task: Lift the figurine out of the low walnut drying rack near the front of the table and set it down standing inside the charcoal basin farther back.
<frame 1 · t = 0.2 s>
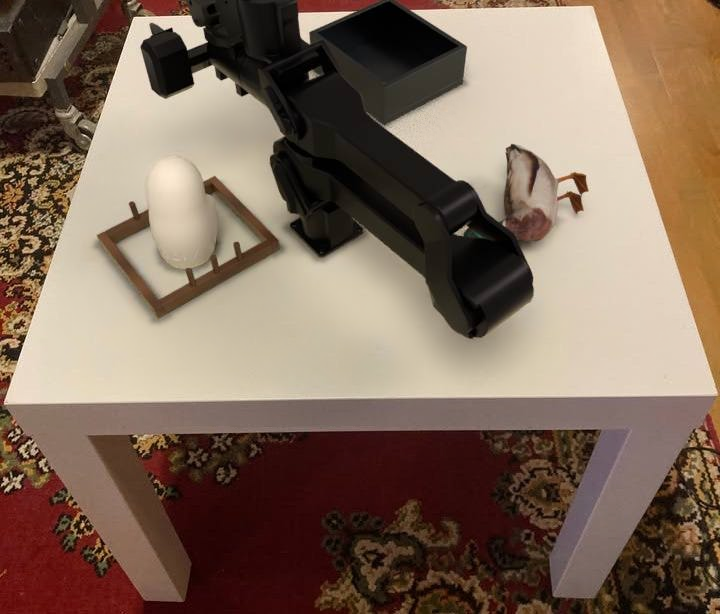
hand: (186, 13, 84), 16 cm above the table, tool horizontal, fingers open, 9 cm apart
dark grey open box: (386, 76, 103), on the table
drying rack: (189, 246, 84), on the table
decorative duck model: (506, 219, 86), on the table
figurine: (190, 247, 84), resting in drying rack
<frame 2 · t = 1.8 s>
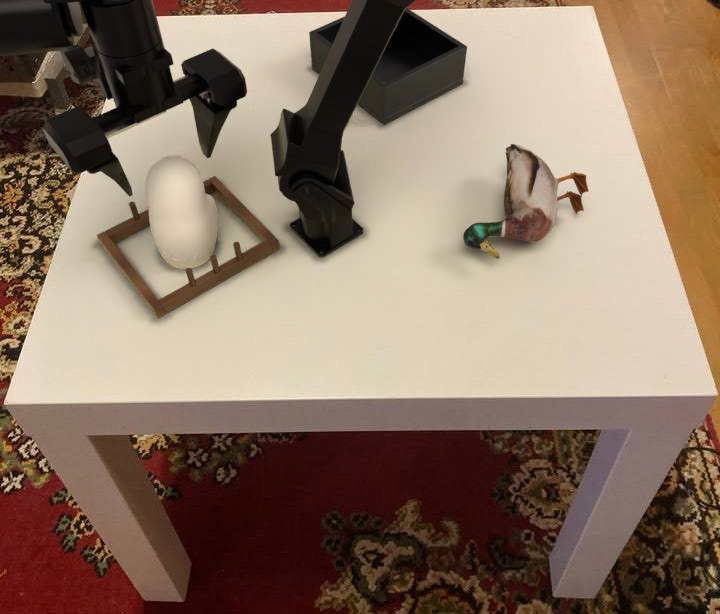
hand: (168, 174, 75), 11 cm above the table, tool pointing down, fingers open, 9 cm apart
nothing on the table moved.
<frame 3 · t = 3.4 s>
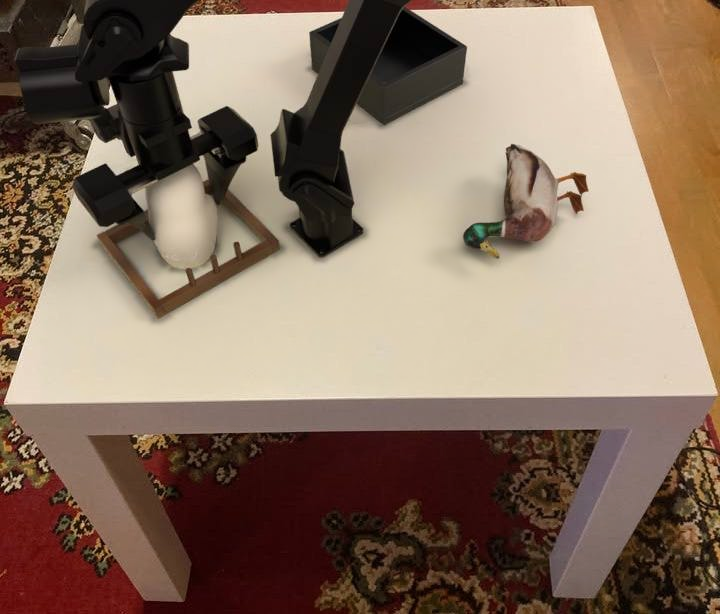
hand: (185, 220, 81), 4 cm above the table, tool pointing down, fingers closed on figurine, 8 cm apart
figurine: (190, 248, 84), resting in drying rack, touching gripper
everything else where it was.
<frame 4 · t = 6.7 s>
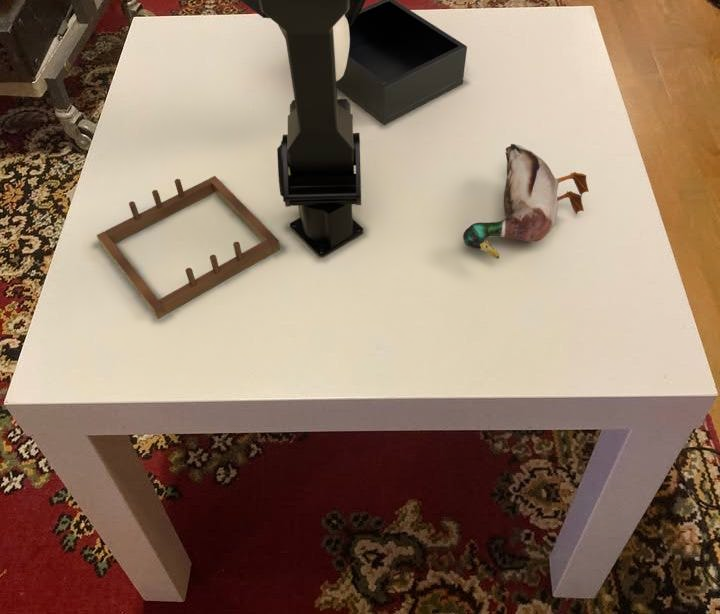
hand: (322, 37, 86), 13 cm above the table, tool pointing down, fingers closed on figurine, 8 cm apart
figurine: (321, 70, 90), point 9 cm above the table, touching gripper
everything else where it was.
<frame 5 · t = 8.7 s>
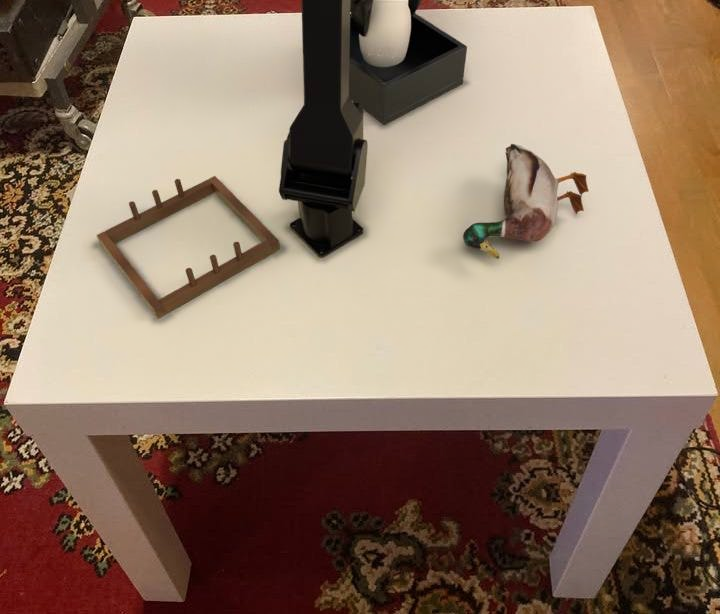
hand: (387, 24, 97), 8 cm above the table, tool pointing down, fingers closed on figurine, 8 cm apart
figurine: (384, 54, 100), point 4 cm above the table, touching gripper
everything else where it was.
when the fingers open (5 cm above the table, at t = 10.2 s): figurine stays where it is, resting on dark grey open box.
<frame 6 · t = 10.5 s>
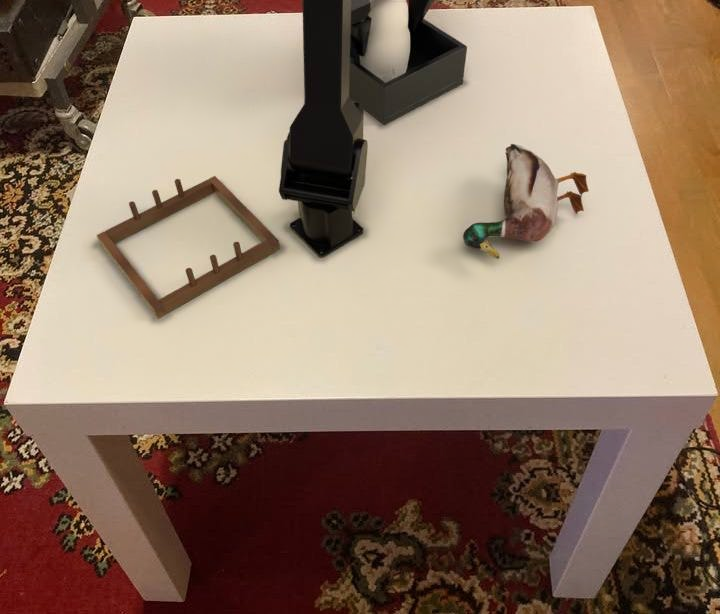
hand: (387, 42, 99), 5 cm above the table, tool pointing down, fingers open, 9 cm apart
figurine: (383, 73, 102), point 1 cm above the table, touching dark grey open box
everything else where it was.
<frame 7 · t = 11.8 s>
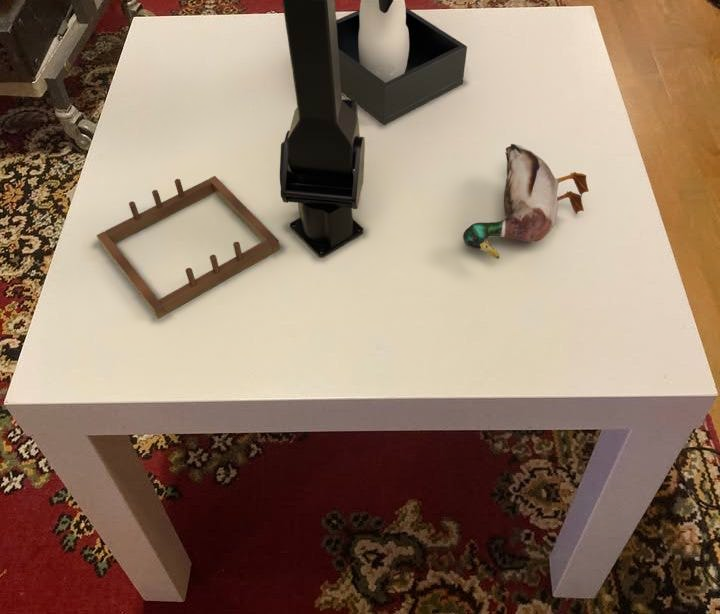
hand: (354, 23, 89), 13 cm above the table, tool pointing down, fingers open, 9 cm apart
nothing on the table moved.
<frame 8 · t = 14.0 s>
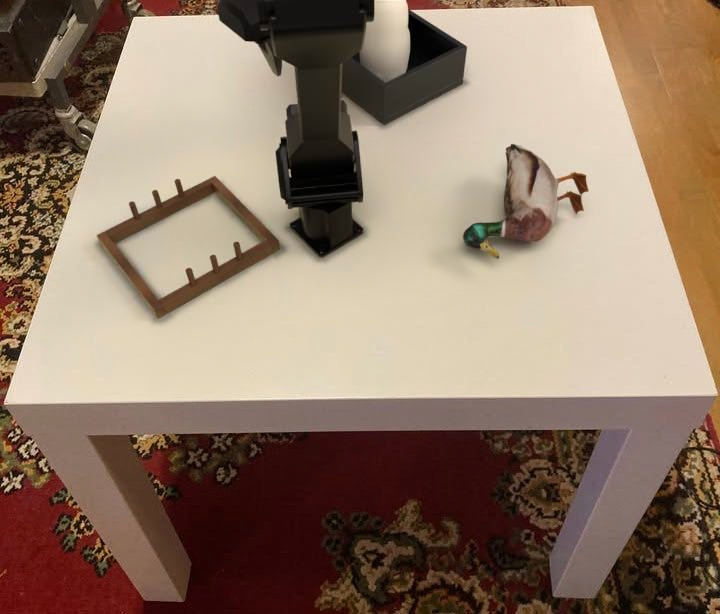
hand: (309, 59, 84), 13 cm above the table, tool pointing down, fingers open, 9 cm apart
nothing on the table moved.
at the end: figurine inside the target area in the dark grey open box (0.5 cm from its centre), point 0.8 cm above the dark grey open box's base; figurine tilted 0°; the gripper is holding nothing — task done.
